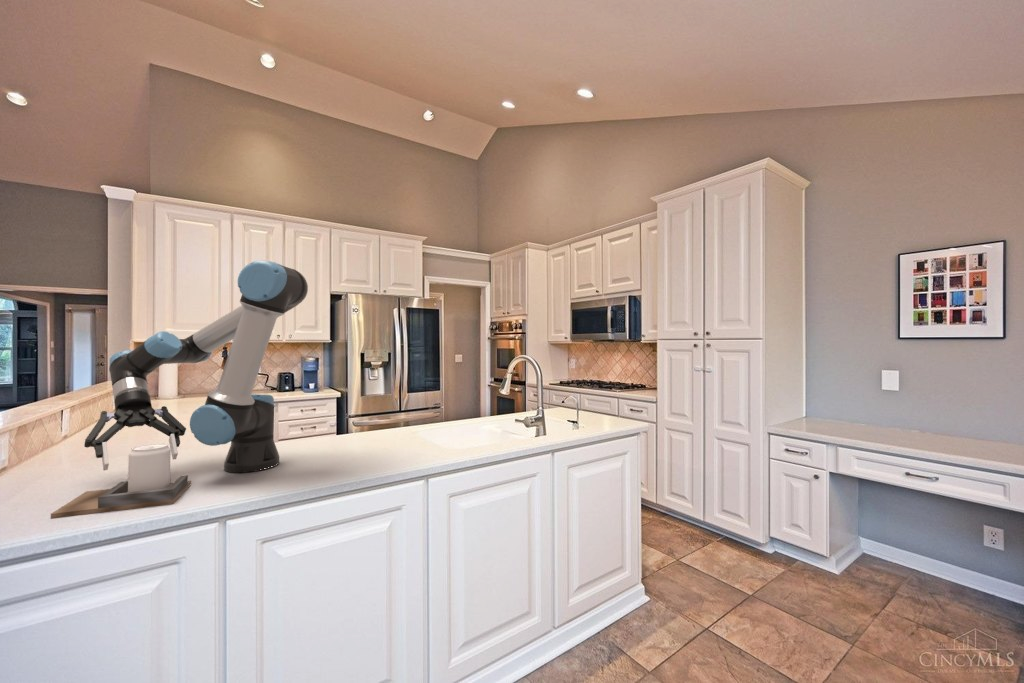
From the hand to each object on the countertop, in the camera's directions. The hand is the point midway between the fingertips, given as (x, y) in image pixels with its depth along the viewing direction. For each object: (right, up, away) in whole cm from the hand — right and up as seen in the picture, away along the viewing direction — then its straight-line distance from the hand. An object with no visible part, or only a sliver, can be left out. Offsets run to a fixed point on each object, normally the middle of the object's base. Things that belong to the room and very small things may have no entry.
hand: (142, 461), depth 110 cm
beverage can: (+3, -8, -2) cm, 9 cm away
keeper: (-1, -9, -3) cm, 9 cm away
